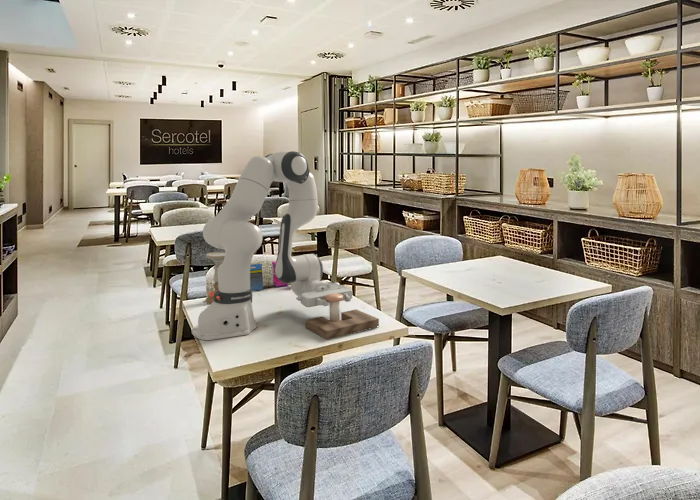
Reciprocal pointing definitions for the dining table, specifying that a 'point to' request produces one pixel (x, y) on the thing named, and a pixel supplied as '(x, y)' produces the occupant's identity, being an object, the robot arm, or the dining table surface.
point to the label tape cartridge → (256, 277)
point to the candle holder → (218, 259)
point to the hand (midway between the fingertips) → (338, 301)
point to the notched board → (342, 324)
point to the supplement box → (275, 280)
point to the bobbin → (334, 306)
